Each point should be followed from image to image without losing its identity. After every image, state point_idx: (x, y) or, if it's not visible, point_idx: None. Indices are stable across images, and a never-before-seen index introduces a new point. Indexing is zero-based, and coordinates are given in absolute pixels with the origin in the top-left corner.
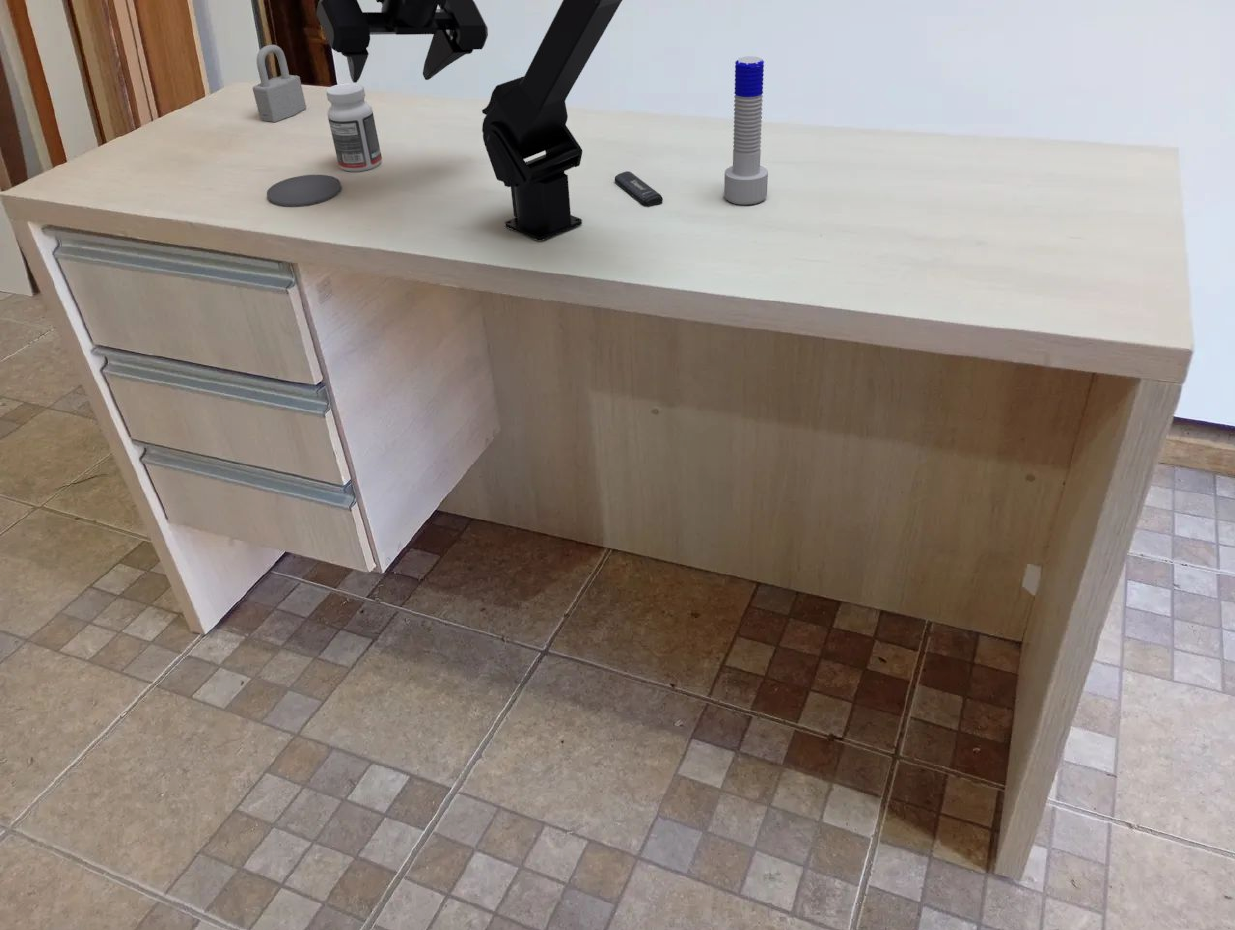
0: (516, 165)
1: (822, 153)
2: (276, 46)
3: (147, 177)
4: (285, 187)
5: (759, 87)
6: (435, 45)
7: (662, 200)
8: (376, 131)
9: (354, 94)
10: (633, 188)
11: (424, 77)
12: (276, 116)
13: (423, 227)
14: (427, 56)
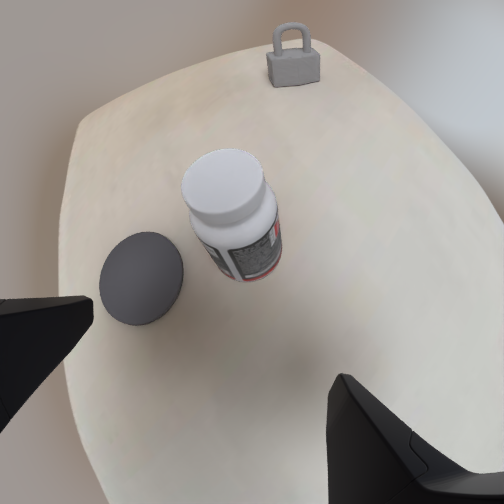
0: None
1: None
2: (301, 24)
3: (121, 133)
4: (129, 254)
5: None
6: (375, 498)
7: None
8: (270, 250)
9: (213, 215)
10: None
11: (331, 389)
12: (278, 83)
13: (153, 493)
14: (361, 419)
